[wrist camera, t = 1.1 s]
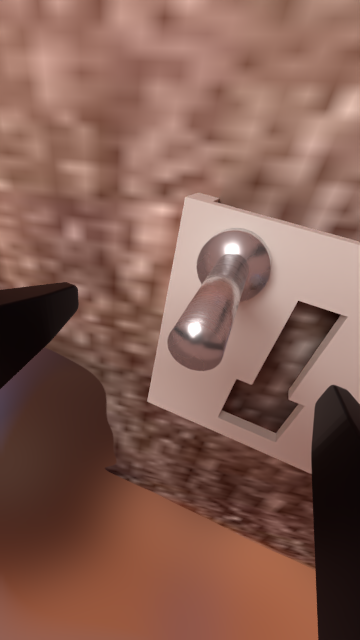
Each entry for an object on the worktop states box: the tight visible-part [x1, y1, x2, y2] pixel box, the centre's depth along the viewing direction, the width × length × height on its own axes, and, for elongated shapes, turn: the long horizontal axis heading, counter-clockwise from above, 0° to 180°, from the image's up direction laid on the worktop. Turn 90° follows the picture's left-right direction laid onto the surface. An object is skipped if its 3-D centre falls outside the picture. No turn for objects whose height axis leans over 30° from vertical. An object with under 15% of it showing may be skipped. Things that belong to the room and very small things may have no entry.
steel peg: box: [167, 228, 271, 371], centre depth 12 cm, size 4×4×9 cm
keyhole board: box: [147, 193, 360, 474], centre depth 20 cm, size 20×20×3 cm
